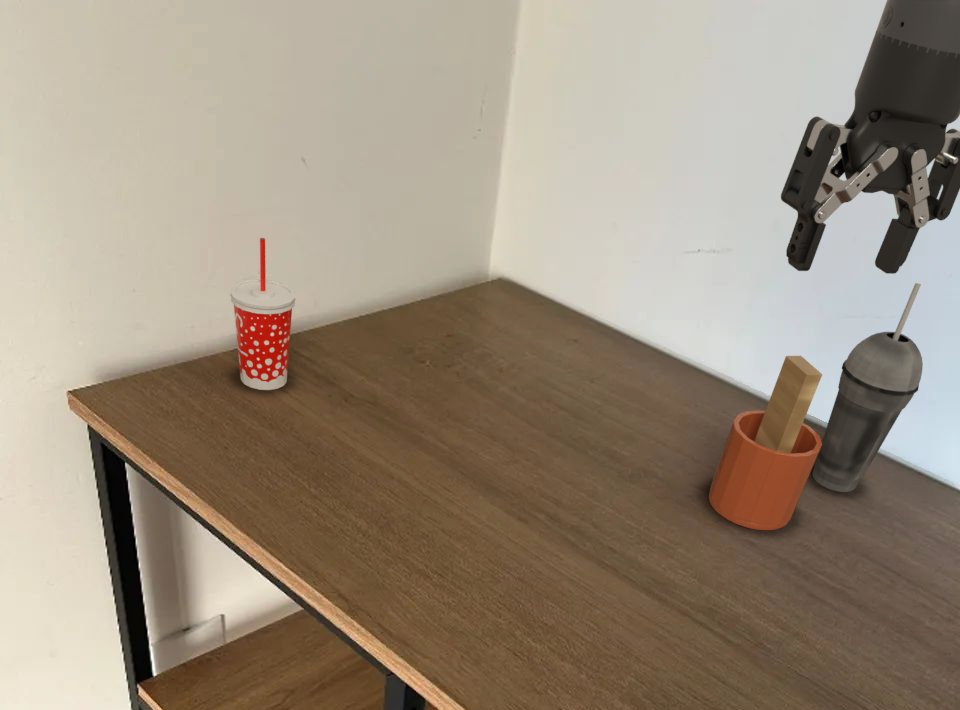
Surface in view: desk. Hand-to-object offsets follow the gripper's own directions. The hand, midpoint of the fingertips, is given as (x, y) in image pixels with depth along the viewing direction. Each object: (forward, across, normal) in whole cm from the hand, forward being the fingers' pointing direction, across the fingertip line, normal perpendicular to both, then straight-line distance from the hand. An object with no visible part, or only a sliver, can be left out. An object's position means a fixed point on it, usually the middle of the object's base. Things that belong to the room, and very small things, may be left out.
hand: (841, 268), depth 77 cm
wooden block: (+22, 0, 0) cm, 22 cm away
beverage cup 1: (+23, -42, +27) cm, 55 cm away
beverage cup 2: (+23, +12, +4) cm, 26 cm away
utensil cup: (+23, 0, 0) cm, 23 cm away
